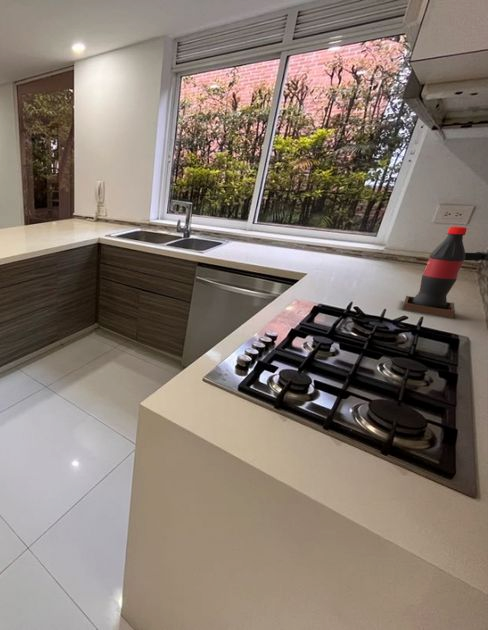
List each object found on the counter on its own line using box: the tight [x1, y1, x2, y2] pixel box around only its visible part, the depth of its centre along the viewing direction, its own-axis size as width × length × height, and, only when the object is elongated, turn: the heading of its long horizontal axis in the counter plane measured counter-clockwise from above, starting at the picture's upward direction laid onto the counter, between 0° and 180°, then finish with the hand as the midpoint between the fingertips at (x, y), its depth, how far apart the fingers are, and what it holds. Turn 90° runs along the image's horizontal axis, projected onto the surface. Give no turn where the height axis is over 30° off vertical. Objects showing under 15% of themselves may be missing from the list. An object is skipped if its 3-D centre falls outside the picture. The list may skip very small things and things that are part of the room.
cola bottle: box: [412, 226, 468, 309], centre depth 118 cm, size 8×8×30 cm
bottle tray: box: [401, 295, 456, 319], centre depth 123 cm, size 13×13×4 cm
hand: (476, 260), depth 115 cm, fingers open, 13 cm apart
